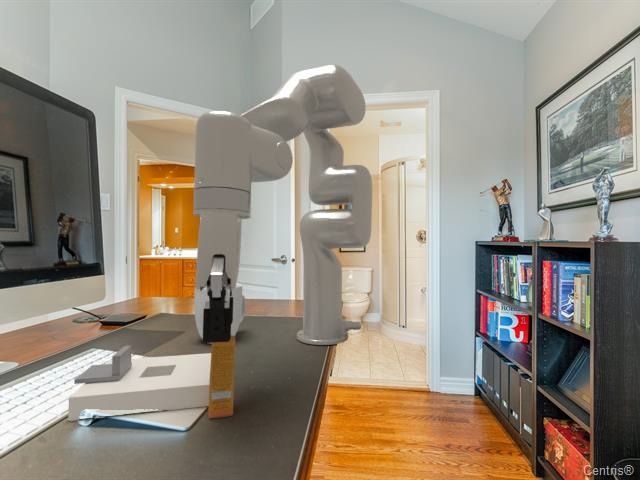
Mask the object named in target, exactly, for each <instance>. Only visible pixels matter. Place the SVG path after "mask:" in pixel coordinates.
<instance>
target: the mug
mask: <svg viewBox="0 0 640 480" xmlns="http://www.w3.org/2000/svg"><path fill="white" fill-rule="evenodd" d="M206 290H207V286H206V287H205V288H204V289H203V290H202V291H198V290H197V289H196V288H195V287H194V303H193V304H194V320H195V325H196V329H197V332H198V334H199V336H200V338H201V339H202V340H203V312H204V308H205V299H206ZM232 297H233V323H232V324H231V335H232V336H235V337H236V334H237V332H238V330H239V327H240V324H241V323H242V321H243V320H244V318H245V316H246V312H247V299H246V298H245V296H244V295H243V285H242V284H240V283H236V288H234V289H233V290H232ZM208 344H210V345H212V343H208Z"/></svg>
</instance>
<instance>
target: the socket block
mask: <svg viewBox="0 0 640 480" xmlns="http://www.w3.org/2000/svg"><path fill="white" fill-rule="evenodd" d="M131 362H132V366H131V368H130V369H129V370H128V371H127V372H126V373H125V374H124V375H123V376H122V377H121V378H120V380H114V381H102V382H91V383H83V385H82V386H80V387H79V388H78V389H77V390H76V391H75V392H73V393H72V394H71V395H70V396H69V397H68V412H67V413H68V415H67V417H68V418H67V420H68V422H73V421H75V422H76V421H80V420H79V416H80V413H81V411H83V410H85V409H100V410H134V409H135V410H136V409H144V410H145V409H148V410H149V409H153V410H155V409H158V410H168V411H175V410H184V409H185V410H186V409H194V408H203V407H204V408H205V407H209V382H210V366H211V352H209V353H195V354H193V353H192V354H182V355H181V354H180V355H166V356H153V357H137V358H131ZM107 364H112V359H111V360H110V361H108V362H107ZM103 418H104V417H99V416H96V417H95V418H94V419H103Z"/></svg>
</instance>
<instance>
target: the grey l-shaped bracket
mask: <svg viewBox="0 0 640 480" xmlns="http://www.w3.org/2000/svg"><path fill="white" fill-rule="evenodd" d="M111 357H112V359H111V360H112V364H108V363H107V364H106V363H105V364H92V365H90V367H89V368H87V369H86V370H85V371H83V372H82V373H80V374H79V375H78V376H77V377H76V378H74V381H73V382H74V385H78V384H79V385H80V384H85V383H91V382H102V381H114V380H120V378H121V377H122V376H123V375H124V374H125V373H126V372H127V371H128V370H129V369H130V368H131V366H132V362H131V359H132V345H124V346H123V347H121V348H120V349H119V350H118V351H116V352H115V353H114V354H113V355H112V356H111Z"/></svg>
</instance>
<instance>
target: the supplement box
mask: <svg viewBox="0 0 640 480" xmlns="http://www.w3.org/2000/svg"><path fill="white" fill-rule="evenodd" d="M210 349H211V351H210V353H211V366H210V382H209V406H208V411H207V412H208V418H209V419H218V418H225V417H230V416H233V415H234V396H235V395H234V392H235V391H234V390H235V389H234V388H235V367H236V366H235V365H236V364H235V363H236V335H235V336H232V335H231V339H230V341H228V342H212V344H211V348H210Z"/></svg>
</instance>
